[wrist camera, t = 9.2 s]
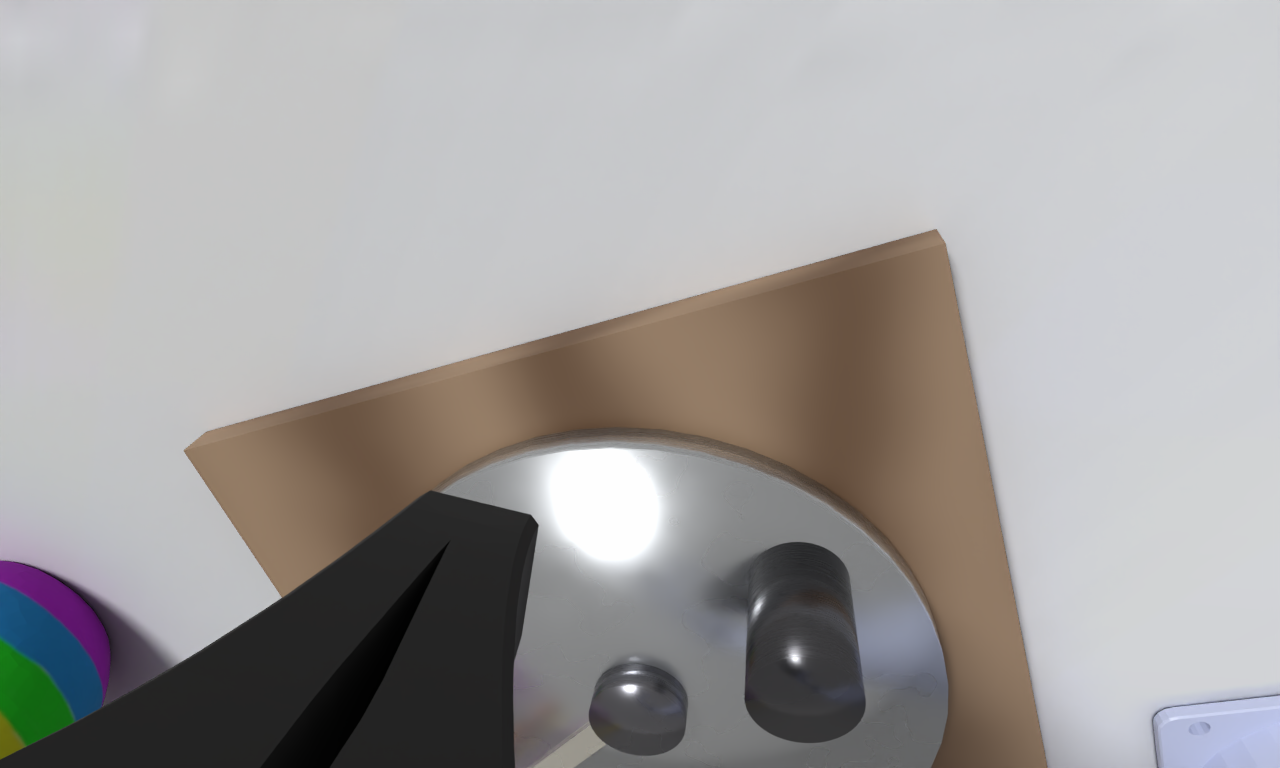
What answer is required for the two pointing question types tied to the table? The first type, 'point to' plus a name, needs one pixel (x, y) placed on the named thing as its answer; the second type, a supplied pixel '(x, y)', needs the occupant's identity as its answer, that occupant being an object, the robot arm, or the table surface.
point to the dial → (707, 611)
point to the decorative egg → (46, 657)
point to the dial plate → (706, 406)
